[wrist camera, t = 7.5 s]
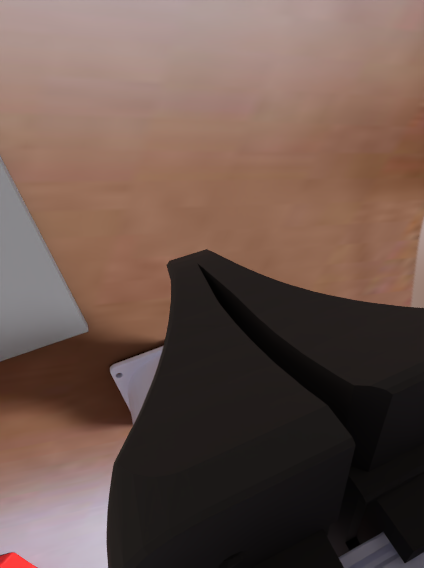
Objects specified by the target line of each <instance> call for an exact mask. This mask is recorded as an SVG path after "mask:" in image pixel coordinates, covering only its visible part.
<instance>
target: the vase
mask: <svg viewBox="0 0 424 568" xmlns="http://www.w3.org/2000/svg"><path fill="white" fill-rule="evenodd" d="M0 568H37V567H35V566H34V565H32V564H31V563H29V562H28V561H26V560H25V559H23V558H22V557H20V556H19V555H17V554H16V553H8V554H5V555H2V556H0Z"/></svg>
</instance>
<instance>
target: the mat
mask: <svg viewBox="0 0 424 568" xmlns="http://www.w3.org/2000/svg"><path fill="white" fill-rule="evenodd" d="M85 332H88V325H87V323H86V321H85V319H84V317H83V315H82V313H81V311H80V309H79V307H78V305H77V303H76V302H75V300H74V298H73V296H72V294H71V292H70V290H69V288H68V286H67V284H66V282H65V280H64V278H63V276H62V274H61V272H60V271H59V269H58V267H57V265H56V263H55V261H54V259H53V257H52V255H51V253H50V251H49V249H48V247H47V245H46V243H45V242H44V240H43V238H42V236H41V234H40V232H39V230H38V228H37V226H36V224H35V222H34V220H33V218H32V216H31V214H30V212H29V211H28V209H27V207H26V205H25V203H24V201H23V199H22V197H21V195H20V193H19V191H18V189H17V187H16V185H15V183H14V182H13V180H12V178H11V176H10V174H9V172H8V170H7V168H6V166H5V164H4V162H3V160H2V158H1V156H0V361H3V360H6V359H9V358H12V357H15V356H18V355H21V354H24V353H27V352H29V351H32V350H35V349H38V348H41V347H44V346H47V345H50V344H53V343H56V342H59V341H62V340H65V339H68V338H71V337H74V336H76V335H79V334H82V333H85Z"/></svg>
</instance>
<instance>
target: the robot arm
mask: <svg viewBox="0 0 424 568" xmlns="http://www.w3.org/2000/svg"><path fill="white" fill-rule="evenodd" d="M167 268H168V272H169V275H170V279H171V306H170V315H169V322H168V328H167V333H166V338H165V342H164V346H162V347H159V348H156V349H154V350H151V351H148V352H145V353H143V354H140V355H137V356H135V357H132V358H129V359H126V360H124V361H121V362H118V363H115V364H113V365H112V366H111V367H110V373H111V375H112V377H113V379H114V381H115V383H116V385H117V387H118V389H119V391H120V392H121V394H122V396H123V398H124V400H125V402H126V404H127V406H128V408H129V410H130V412H131V416H132V422H133V427H132V429H131V431H130V433H129V435H128V437H127V439H126V441H125V443H124V445H123V447H122V449H121V450H120V452H119V454H118V456H117V458H116V460H115V462H114V466H113V472H112V479H111V486H110V493H109V503H108V515H107V556H108V568H424V308H414V307H402V306H394V305H385V304H377V303H370V302H363V301H357V300H351V299H346V298H341V297H336V296H331V295H326V294H322V293H317V292H313V291H310V290H306V289H303V288H299V287H295V286H292V285H289V284H286V283H283V282H280V281H277V280H274V279H272V278H269V277H266V276H264V275H261V274H259V273H256V272H254V271H252V270H249V269H247V268H245V267H243V266H240V265H238V264H236V263H234V262H232V261H230V260H228V259H226V258H224V257H222V256H220V255H218V254H216V253H214V252H212V251H209V250H207V249H206V250H203V251H200V252H197V253H193V254H190V255H187V256H184V257H181V258H177V259H174V260H171V261H169V262H168V264H167ZM118 373H121V374H118Z"/></svg>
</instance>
